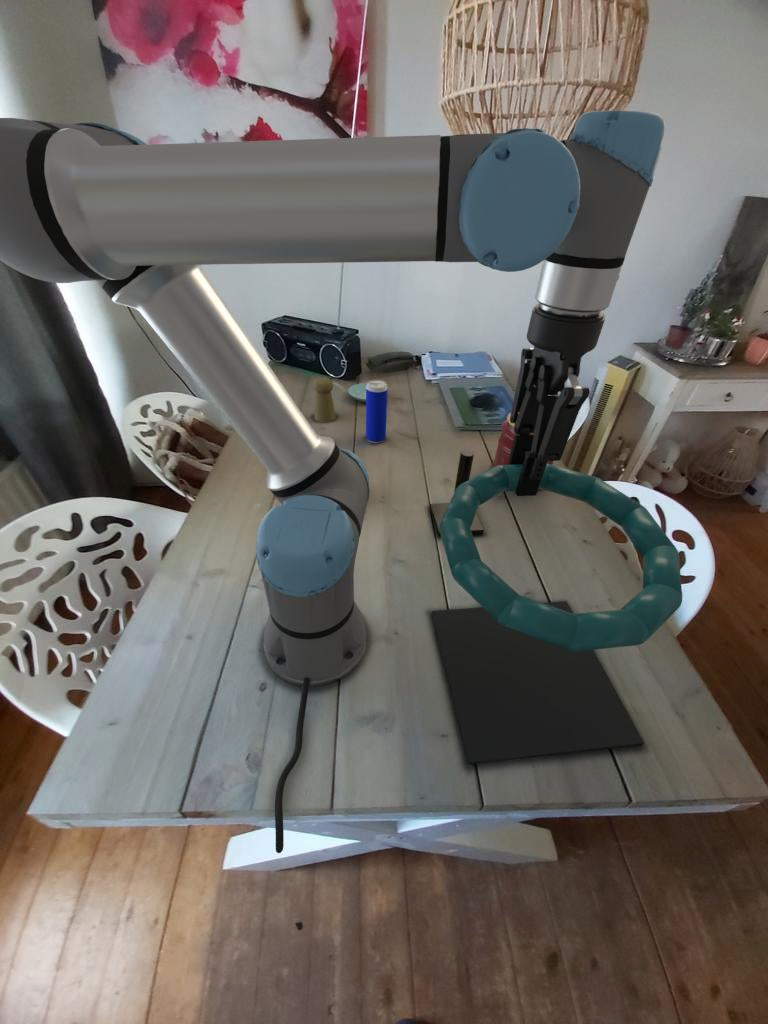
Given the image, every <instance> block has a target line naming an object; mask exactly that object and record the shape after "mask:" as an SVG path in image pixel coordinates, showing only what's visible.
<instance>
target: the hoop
mask: <svg viewBox="0 0 768 1024" xmlns="http://www.w3.org/2000/svg"><path fill="white" fill-rule="evenodd" d="M522 467H523V464H518V465H499V466H495V467H493V468H492V467H491V468H490V469H488V470H485V471H483V472H481V473H480V474H478V475H476V476H474V477H471V478H469V480H468V481H466V482H464V483H462V484H461V485H459V486H458V487H457V488H456V490H455V489H454V490H455V492H453V494H452V496H451V499H450V501H449V502H448V503H449V505H448V507H447V509H446V512H445V514H444V516H443V518H442V520H441V522H440V526H439V530H440V534H441V537H440V539H441V541H442V544H443V548H444V552H445V555H446V560H447V562H448V566H449V568H450V569H449V570H450V573H451V576H452V578H453V580H454V581H455V582H456V583H457V584H458V585H459V586H460V587H461V588H462V589H463V590H464V591H465V592H466V593H468V595H470V596H471V597H472V599H474V600H475V602H477V604H478V605H480V607H483V608H484V609H485V610H486V611H487V612H488V613H489V614H490V615H491V616H492V617H493V618H494V619H495V620H496V621H497V622H498V623H500V624H501V625H503V626H505V627H507V628H510V629H513V630H515V631H518V632H521V633H523V634H526V635H529V636H531V637H534V638H537V639H539V640H542V641H545V642H547V643H550V644H553V645H555V646H558V647H561V648H563V649H566V650H569V651H584V650H593V651H595V650H603V649H604V650H605V649H614V648H615V649H616V648H624V647H633V646H639V645H642V644H644V643H646V642H647V641H648V640H649V639H650V638H651V637H652V636H653V635H654V634H655V632H657V630H659V628H660V627H661V626H663V625H664V624H665V623H666V622H667V621H668V620H669V619H670V618H671V617H672V615H674V614H675V612H676V611H677V610H678V609H679V608H680V607H681V606H682V602H683V591H682V577H681V563H680V553H679V550H678V549H677V547H676V546H675V545H674V543H673V542H672V541H671V539H670V538H669V536H668V535H667V534H666V533H665V531H664V530H663V529H662V528H661V526H660V524H659V523H658V522H657V521H656V519H655V518H654V517H653V515H652V514H651V513H650V512H649V510H648V508H646V507H645V506H644V505H642V504H641V503H639V502H638V501H636V500H634V499H633V498H631V497H630V496H628V495H627V494H625V493H623V492H622V491H620V490H619V489H617V488H615V487H614V486H612V485H611V484H609V483H607V482H606V481H604V480H603V479H601V478H599V477H597V476H593V475H590V474H587V473H583V472H579V471H576V470H572V469H568V468H565V467H562V466H559V465H555V464H552V465H551V464H546V468H545V470H544V473H543V477H542V479H541V481H540V485H539V488H538V491H539V490H544V491H547V492H550V493H554V494H557V495H561V496H565V497H567V498H571V499H574V500H577V501H580V502H584V503H585V504H587V505H588V506H589V507H591V508H592V509H594V510H596V511H597V512H599V513H600V514H602V515H603V516H605V517H606V518H607V519H609V520H611V521H612V522H613V523H615V524H616V525H618V527H619V526H620V528H621V529H622V530H623V532H624V533H625V535H626V536H627V538H628V539H629V540H630V542H631V543H632V545H633V547H634V548H635V550H636V551H637V552H638V554H639V556H640V557H641V558H642V589H641V590H640V591H639V592H638V593H636V594H635V596H634V597H632V598H631V599H630V600H629V601H628V602H627V603H626V604H624V605H623V606H622V607H621V608H620V609H614V610H613V609H611V610H602V611H591V612H577V613H573V614H572V613H569V612H566V611H564V610H561V609H558V608H555V607H552V606H550V605H547V604H544V603H545V602H541V601H538V600H535V599H533V598H530V597H527V596H524V595H521V594H519V593H518V592H516V590H515V589H513V587H511V586H510V585H509V584H508V583H507V582H506V581H505V580H503V579H502V577H500V576H499V575H498V574H497V573H496V572H495V571H493V570H492V569H491V568H490V567H489V566H488V565H487V564H486V563H484V562H483V560H482V559H481V555H480V553H479V549H478V547H477V544H476V542H475V538H474V535H472V532H471V530H470V528H471V525H472V523H473V520H474V517H475V515H476V513H478V510H479V508H480V506H481V505H483V504H485V503H486V502H488V501H490V500H492V499H493V498H495V497H497V496H499V495H500V494H502V493H504V492H516V489H517V486H518V481H519V478H520V474H521V471H522Z"/></svg>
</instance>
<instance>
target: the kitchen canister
mask: <svg viewBox="0 0 768 1024" xmlns="http://www.w3.org/2000/svg"><path fill="white" fill-rule="evenodd" d="M518 414H519V412H518ZM510 416H511V412H509V413H508V414H507V417H506V420H504V421H503V422H502V423H501V426H500V430H501V434H500V435H499V437H498V440H497V447H496V451H495V455H494V458H493V461H492V466H491V468H493V467H495V466H499V465H508V461H509V457H510V453H511V449H512V445H513V441H514V437H515V433H514V426H515V424H514V423H511V422H510ZM529 435H534V433H530V434H529ZM553 463H554V461H547V464H551V465H554V464H553Z"/></svg>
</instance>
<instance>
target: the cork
mask: <svg viewBox="0 0 768 1024" xmlns="http://www.w3.org/2000/svg"><path fill="white" fill-rule="evenodd" d="M312 387H313V390H314V391H315V399H314V416H313V418H314V420H315V421H317V422H319V423H330V422H333V421H335V420H336V418H337V416H336V411H335V405H334V400H333V395H332V390H333V389H334V383H333V381H332V379H331V378H328V377H324V376H323V377H317V378H316V379H314V381H313V386H312Z"/></svg>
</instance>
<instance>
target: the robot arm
mask: <svg viewBox="0 0 768 1024" xmlns="http://www.w3.org/2000/svg"><path fill="white" fill-rule="evenodd" d="M665 135H666V122H665V119H664V118H663V117H662V116H661V115H660V114H658V113H657V112H650V111H643V110H594V111H593V110H592V111H586V112H584V113H582V114H581V115H580V116H579V117H578V118H577V120H576V122H575V124H574V129H573V132H572V133H571V134H570V135H569V139H562V140H559V138H557V137H555V136H554V135H552V134H549V133H546V132H545V130H544V129H540V128H529V127H528V128H527V127H526V128H525V127H524V128H513V129H509V130H508V131H506V132H494V133H491V132H490V133H489V132H488V133H463V134H462V133H461V134H454V135H453V134H452V135H441V134H432V135H431V134H429V135H401V136H400V135H397V136H369V137H367V136H366V137H339V138H337V137H336V138H311V139H310V138H309V139H307V138H306V139H278V140H277V139H276V140H250V141H249V140H246V141H245V140H244V141H218V142H216V141H215V142H214V141H213V142H186V143H185V142H183V143H158V144H157V143H154V144H153V143H152V144H147V143H146V142H144V141H143V140H141V139H140V138H138V137H137V136H134V135H132V134H131V133H128V132H125V131H123V130H120V129H118V128H114V127H112V126H109V125H106V124H102V123H97V122H78V123H77V122H76V123H64V122H55V121H54V122H53V121H43V120H34V119H33V120H32V119H25V118H17V117H0V261H1V262H2V263H4V265H5V266H8V267H10V268H11V269H13V270H15V271H17V272H19V273H21V274H23V275H25V276H28V277H30V278H32V279H36V280H39V281H43V282H47V283H55V284H72V283H76V282H91V281H93V282H94V281H96V283H97V284H98V285H99V287H101V289H102V290H103V291H104V292H105V294H106V295H107V296H108V297H109V298H110V299H111V301H112V302H113V303H114V304H117V305H121V306H125V307H129V308H132V309H134V310H136V311H138V312H139V313H140V314H141V316H142V317H143V318H144V320H145V321H146V322H147V323H148V324H149V326H151V328H152V329H153V330H154V332H155V333H156V334H157V335H158V337H159V338H160V339H161V340H162V342H163V343H164V344H165V346H167V348H168V349H169V350H170V351H171V353H172V354H173V355H174V356H175V358H176V359H177V360H178V362H180V364H181V365H182V366H183V368H184V369H185V370H186V372H187V373H188V374H189V375H190V376H191V377H192V379H193V380H194V382H195V383H196V384H197V385H198V386H199V388H200V389H201V390H202V391H203V392H204V394H205V395H206V396H207V397H208V398H209V400H210V401H211V402H212V404H213V405H214V406H215V408H217V410H218V411H219V412H220V413H221V415H222V416H223V417H224V418H225V419H226V421H227V423H229V424H230V426H231V427H232V428H233V429H234V431H235V432H236V433H237V434H238V436H239V437H240V438H241V439H242V440H243V442H244V443H245V444H246V446H248V449H250V450H251V451H252V453H253V454H254V456H255V457H256V458H257V459H258V461H260V463H261V464H262V465H263V467H264V468H265V469H266V471H267V473H266V480H265V484H266V485H265V486H266V487H267V488H268V490H269V491H270V492H271V493H272V495H273V496H274V497H275V498H276V499H277V501H278V502H279V503H280V504H281V505H278V504H276V505H275V506H273V507H272V508H270V510H269V511H268V512H267V513H266V514H265V515H264V517H262V520H261V521H260V523H259V526H258V529H257V532H256V541H255V542H256V548H255V549H256V560H257V565H258V568H259V571H260V574H261V578H262V584H263V587H264V591H265V592H264V593H265V597H266V601H267V606H268V610H269V614H268V618H267V621H266V625H265V627H264V632H263V650H264V654H265V659H266V661H267V663H268V665H269V667H270V668H271V670H272V671H273V672H274V673H275V674H276V676H278V677H279V678H280V679H282V680H283V681H285V682H287V683H288V684H292V685H295V686H299V687H302V688H301V689H302V690H301V694H300V695H301V696H300V702H299V709H298V715H297V723H296V729H295V745H294V749H293V753H292V755H291V758H290V759H289V760H288V762H287V764H286V765H285V767H284V769H283V770H282V772H281V774H280V775H279V779H278V781H277V785H276V789H275V795H274V796H275V798H274V825H275V852H276V853H277V854H281V853H282V852H283V851H284V847H285V846H284V843H285V842H284V813H283V797H284V790H285V785H286V782H287V779H288V776H289V774H290V773H291V771H292V770H293V768H294V767H295V765H296V764H297V762H298V760H299V758H300V755H301V753H302V747H303V739H304V725H305V716H306V709H307V703H308V696H309V689H310V688H315V687H323V686H327V685H331V684H334V683H335V682H338V681H340V680H341V679H343V678H344V677H346V676H348V675H349V674H350V673H351V672H353V670H354V669H356V667H357V666H358V665H359V664H360V662H361V661H362V658H363V656H364V654H365V652H366V648H367V640H368V639H367V638H368V637H367V635H368V633H367V632H368V631H367V626H366V622H365V619H364V616H363V614H362V612H361V610H360V608H359V607H358V605H357V603H356V600H355V586H354V585H355V582H354V581H355V578H354V576H355V565H356V558H357V553H358V547H359V541H360V538H361V534H362V530H363V529H362V528H363V525H364V521H365V520H364V519H365V516H366V510H367V507H368V502H369V500H370V479H369V473H368V471H367V468H366V466H365V465H364V463H363V462H362V460H361V459H360V458H359V456H357V455H356V454H355V453H354V452H352V451H351V450H349V449H347V448H346V449H344V448H342V447H341V446H339V445H338V444H337V442H336V441H335V440H334V439H333V438H332V437H330V436H326V435H319V434H317V432H316V431H315V430H314V428H313V426H312V425H311V424H310V422H309V421H308V420H307V418H306V416H305V415H304V414H303V412H302V411H301V409H300V408H299V406H298V405H297V404H296V402H295V401H294V399H293V398H292V396H291V395H290V394H289V392H288V391H287V389H286V388H285V386H284V385H283V384H282V382H281V381H280V380H279V378H278V376H277V375H276V374H275V372H274V371H273V370H272V369H273V368H271V367H270V365H269V364H268V362H267V361H266V359H265V357H264V356H263V354H262V353H261V352H260V350H259V349H258V347H257V346H256V344H255V343H254V341H253V340H252V339H251V338H250V336H249V335H248V333H247V332H246V330H245V329H244V327H243V326H242V325H241V323H240V322H239V320H238V319H237V317H236V316H235V314H234V313H233V311H232V310H231V309H230V307H229V306H228V305H227V304H228V303H226V302H225V300H224V299H223V297H222V296H221V294H220V293H219V292H218V290H217V289H216V287H215V286H214V284H213V282H212V281H211V280H210V278H209V277H208V276H207V274H206V272H204V269H203V267H202V265H203V266H204V265H256V264H257V265H264V264H265V265H267V264H270V265H271V264H273V265H275V264H332V263H333V264H337V263H343V264H344V263H399V262H401V263H402V262H406V263H407V262H409V263H411V262H435V263H436V262H437V263H438V262H442V263H478V264H480V265H482V266H484V267H487V268H490V269H492V270H496V271H499V272H506V273H510V272H511V273H515V272H521V271H525V270H528V269H531V268H533V267H536V266H537V265H539V264H540V263H542V264H541V269H540V272H539V273H540V274H539V278H538V282H537V287H536V291H535V296H534V299H535V300H536V302H537V304H535V306H533V307H532V310H531V315H530V319H529V323H528V328H527V332H526V340H527V341H528V343H529V344H531V345H532V346H533V347H530V348H529V347H528V348H527V347H525V348H522V349H521V351H520V352H521V353H520V368H519V373H518V377H517V382H516V386H515V391H514V397H513V401H512V406H511V410H510V411H511V412H510V413H511V416H510V422H511V423H514V424H515V426H514V433H515V437H514V441H513V445H512V449H511V453H510V457H509V461H508V465H518V464H523V467H522V471H521V474H520V478H519V481H518V486H517V489H516V491H514V494H515V496H516V497H533V496H537V494H538V491H539V490H538V488H539V485H540V481H541V479H542V477H543V473H544V470H545V468H546V464H547V461H553V462H557V461H558V462H559V461H561V459H562V457H563V454H564V452H565V450H566V446H567V444H568V441H569V438H570V436H571V433H572V431H573V428H574V425H575V423H576V420H577V418H578V416H579V412H580V410H581V407H582V406H583V405H584V404H585V402H586V400H587V399H588V398H589V396H590V388H589V386H581V385H580V383H579V380H578V378H579V376H580V374H581V373H580V372H581V363H582V358H583V357H584V356H585V355H586V354H587V353H589V352H591V351H593V350H595V348H596V347H597V346H598V342H599V338H600V336H601V332H602V330H603V327H604V323H605V321H606V315H605V313H604V312H603V311H605V310H606V309H608V308H609V307H610V305H611V301H612V298H613V296H614V292H615V289H616V285H617V283H618V281H619V279H620V273H621V270H622V267H623V265H624V262H625V259H626V256H627V252H628V250H629V246H630V244H631V241H632V238H633V235H634V232H635V230H636V227H637V224H638V221H639V218H640V217H641V216H640V215H641V213H642V211H643V210H642V209H643V207H644V205H645V202H646V198H647V196H648V193H649V189H650V187H652V185H653V182H654V176H655V172H656V168H657V165H658V161H659V158H660V154H661V151H662V148H663V147H662V145H663V141H664V138H665ZM518 412H519V414H518ZM530 433H534V435H529V434H530ZM294 924H295V926H296V928H297V930H298V931H302V930H303V928H304V925H303V922H302V921H298V922H294Z"/></svg>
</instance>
